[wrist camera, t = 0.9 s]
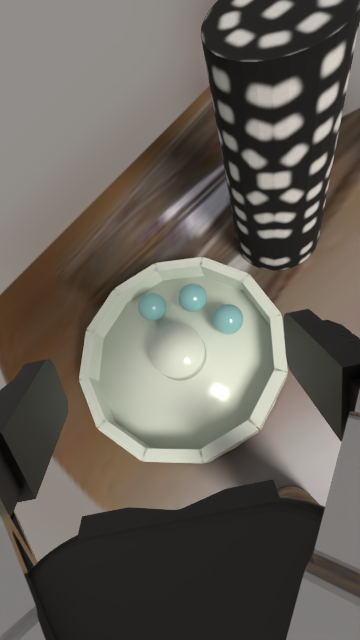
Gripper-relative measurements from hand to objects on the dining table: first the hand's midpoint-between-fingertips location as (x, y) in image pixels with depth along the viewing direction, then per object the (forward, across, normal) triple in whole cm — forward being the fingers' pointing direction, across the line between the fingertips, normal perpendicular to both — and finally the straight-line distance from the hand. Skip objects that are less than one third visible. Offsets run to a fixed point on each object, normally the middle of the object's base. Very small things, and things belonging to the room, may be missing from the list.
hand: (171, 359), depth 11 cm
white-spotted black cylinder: (+25, -12, +2) cm, 28 cm away
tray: (+19, 0, +11) cm, 22 cm away
